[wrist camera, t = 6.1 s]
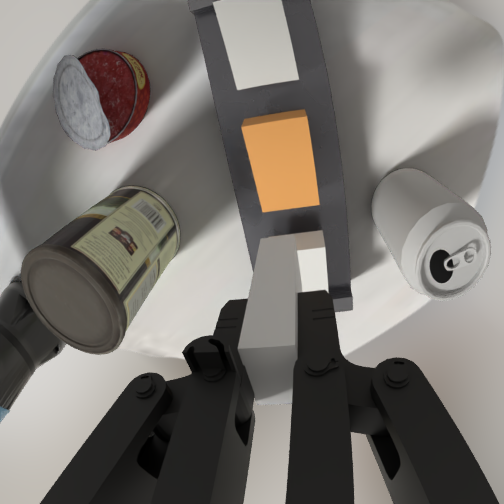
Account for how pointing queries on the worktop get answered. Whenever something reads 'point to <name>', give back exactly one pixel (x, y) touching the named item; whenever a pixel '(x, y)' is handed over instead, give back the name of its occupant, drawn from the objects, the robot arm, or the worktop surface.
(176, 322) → the worktop surface
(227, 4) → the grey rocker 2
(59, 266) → the coffee can
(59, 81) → the canned food
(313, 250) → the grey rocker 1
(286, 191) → the orange rectangular block
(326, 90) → the dark grey tray
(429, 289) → the can
